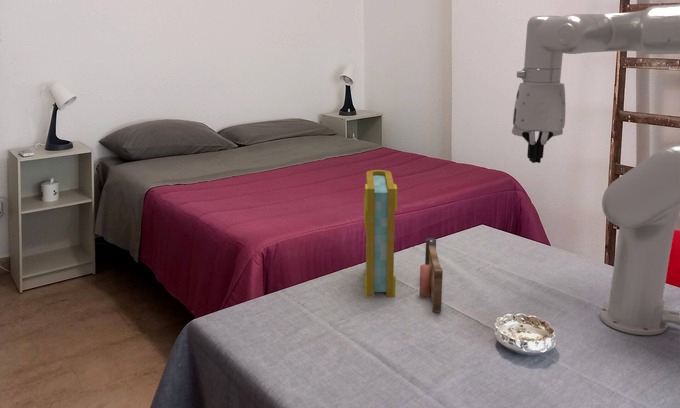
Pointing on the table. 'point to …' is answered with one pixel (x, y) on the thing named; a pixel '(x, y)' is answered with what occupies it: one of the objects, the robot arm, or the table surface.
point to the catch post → (425, 281)
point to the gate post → (428, 242)
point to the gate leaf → (435, 279)
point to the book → (380, 232)
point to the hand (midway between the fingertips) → (534, 161)
